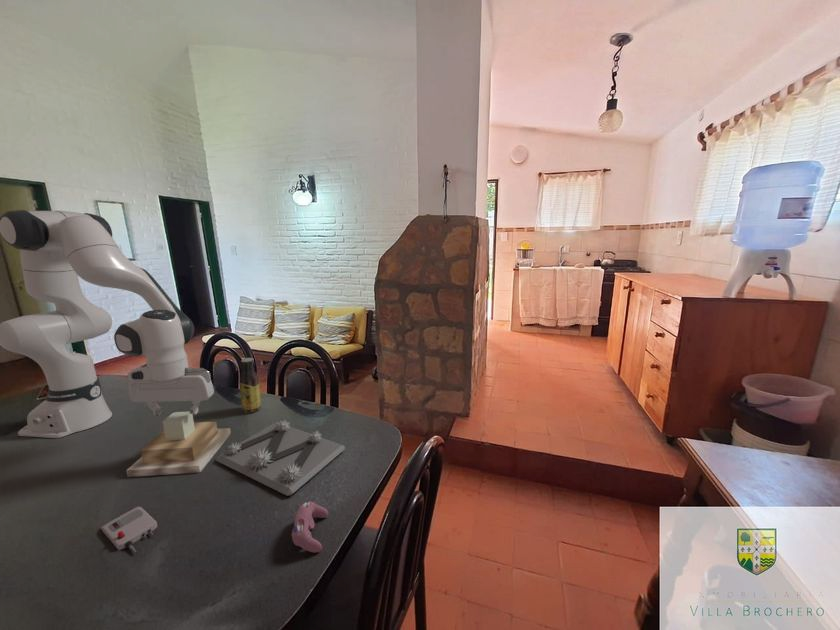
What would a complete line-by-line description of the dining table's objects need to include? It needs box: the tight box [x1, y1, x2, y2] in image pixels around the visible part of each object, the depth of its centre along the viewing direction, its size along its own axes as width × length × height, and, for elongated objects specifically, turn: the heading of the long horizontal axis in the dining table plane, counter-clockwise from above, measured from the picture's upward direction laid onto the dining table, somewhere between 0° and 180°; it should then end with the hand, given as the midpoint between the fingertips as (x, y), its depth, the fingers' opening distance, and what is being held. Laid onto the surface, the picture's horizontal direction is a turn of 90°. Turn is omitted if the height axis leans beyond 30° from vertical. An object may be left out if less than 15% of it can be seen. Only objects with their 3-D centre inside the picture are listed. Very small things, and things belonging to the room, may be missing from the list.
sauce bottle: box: [239, 357, 262, 414], centre depth 117 cm, size 6×6×20 cm
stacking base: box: [125, 421, 231, 478], centre depth 94 cm, size 18×18×6 cm
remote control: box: [100, 506, 158, 554], centre depth 70 cm, size 7×16×3 cm, turn 60°
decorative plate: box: [215, 419, 346, 497], centre depth 94 cm, size 30×22×7 cm
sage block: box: [161, 411, 195, 441], centre depth 93 cm, size 5×5×6 cm
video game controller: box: [291, 501, 329, 553], centre depth 69 cm, size 10×5×7 cm, turn 7°
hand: (176, 413), depth 92 cm, fingers open, 8 cm apart
